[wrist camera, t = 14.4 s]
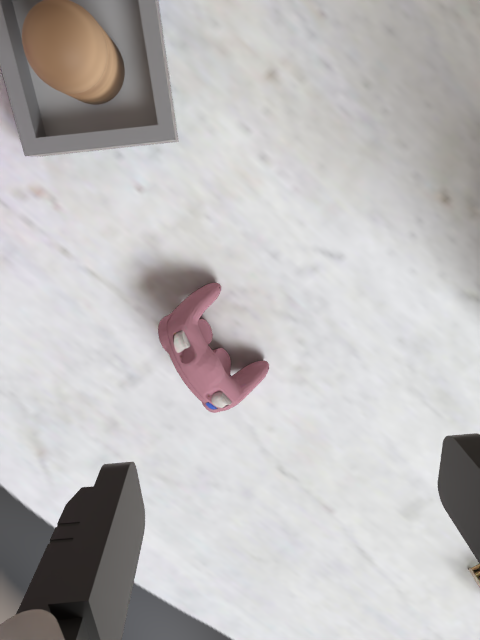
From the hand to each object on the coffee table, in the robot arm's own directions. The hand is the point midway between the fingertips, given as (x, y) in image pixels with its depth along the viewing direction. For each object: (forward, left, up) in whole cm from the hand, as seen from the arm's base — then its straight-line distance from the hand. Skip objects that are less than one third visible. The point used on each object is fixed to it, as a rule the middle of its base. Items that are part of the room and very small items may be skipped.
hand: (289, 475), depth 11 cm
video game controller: (+2, +7, -25) cm, 26 cm away
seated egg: (+8, -14, -24) cm, 29 cm away
